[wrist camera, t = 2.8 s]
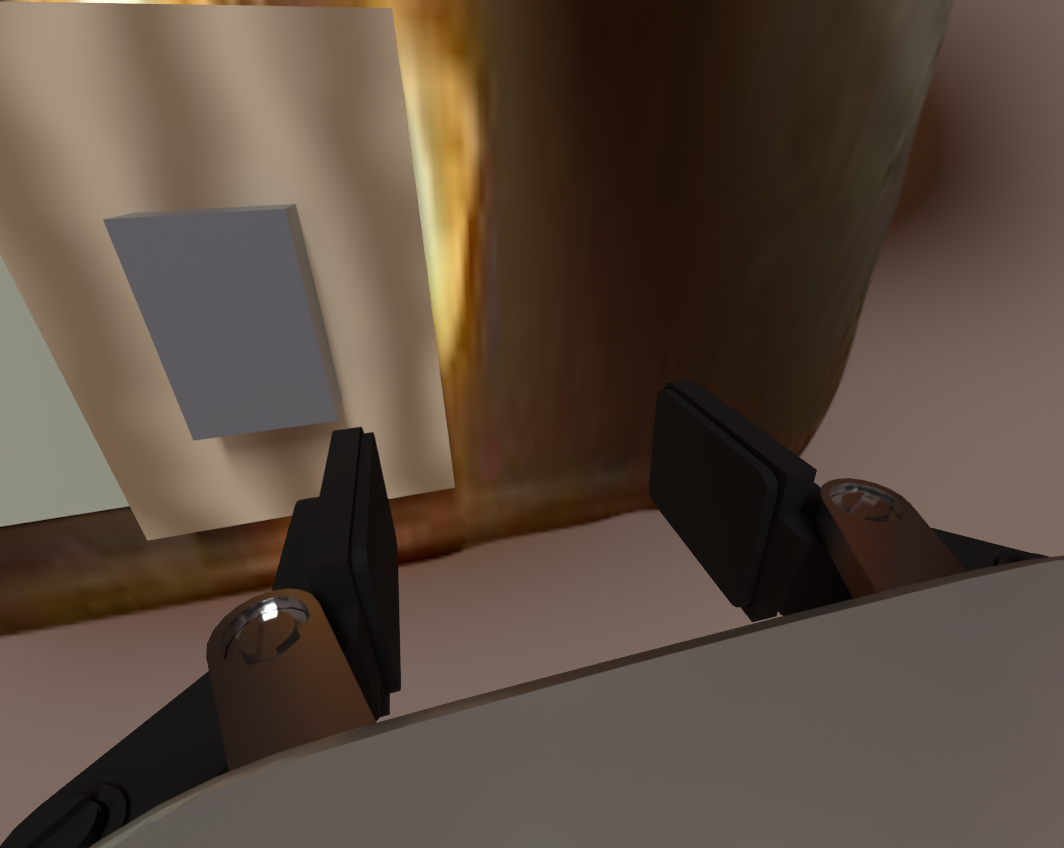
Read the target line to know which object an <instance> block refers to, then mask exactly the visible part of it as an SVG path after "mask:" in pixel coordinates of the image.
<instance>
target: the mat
mask: <svg viewBox="0 0 1064 848" xmlns="http://www.w3.org/2000/svg"><path fill="white" fill-rule="evenodd" d="M127 506H130V505H129V504H128V502H127V500H126V498H125V496H124V494H123V492H122V490H121V488H120V486H119V484H118V482H117V480H116V478H115V476H114V474H113V472H112V471H111V469H110V467H109V465H108V463H107V461H106V459H105V457H104V455H103V453H102V451H101V449H100V447H99V445H98V443H97V441H96V439H95V438H94V436H93V434H92V432H91V430H90V428H89V426H88V424H87V422H86V420H85V418H84V416H83V414H82V412H81V410H80V408H79V406H78V404H77V403H76V401H75V399H74V397H73V395H72V393H71V391H70V389H69V387H68V385H67V383H66V381H65V379H64V377H63V375H62V373H61V371H60V370H59V368H58V366H57V364H56V362H55V360H54V358H53V356H52V354H51V352H50V350H49V348H48V346H47V344H46V342H45V340H44V338H43V337H42V335H41V333H40V331H39V329H38V327H37V325H36V323H35V321H34V319H33V317H32V315H31V313H30V311H29V309H28V307H27V305H26V304H25V302H24V300H23V298H22V296H21V294H20V292H19V290H18V288H17V286H16V284H15V282H14V280H13V278H12V276H11V274H10V272H9V271H8V269H7V267H6V265H5V263H4V261H3V259H2V257H1V255H0V527H1V526H7V525H14V524H20V523H26V522H33V521H39V520H45V519H52V518H58V517H64V516H70V515H77V514H83V513H89V512H96V511H102V510H108V509H114V508H121V507H127Z"/></svg>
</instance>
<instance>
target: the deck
mask: <svg viewBox="0 0 1064 848" xmlns="http://www.w3.org/2000/svg"><path fill="white" fill-rule="evenodd" d="M281 204H296V209H297V213H298V217H299V221H300V225H301V230H302V234H303V238H304V242H305V247H306V251H307V255H308V259H309V263H310V268H311V272H312V276H313V280H314V284H315V289H316V293H317V297H318V301H319V305H320V310H321V314H322V318H323V322H324V327H325V331H326V335H327V339H328V343H329V348H330V352H331V356H332V360H333V364H334V369H335V373H336V377H337V381H338V385H339V390H340V394H341V398H342V399H341V404H340V409H339V414H338V420H337V421H332V422H324V423H317V424H310V425H303V426H296V427H288V428H281V429H274V430H267V431H260V432H252V433H245V434H238V435H231V436H224V437H216V438H209V439H202V440H195V441H193V439H192V436H191V434H190V431H189V429H188V426H187V424H186V421H185V419H184V417H183V414H182V412H181V409H180V407H179V404H178V402H177V399H176V397H175V395H174V392H173V390H172V387H171V385H170V382H169V380H168V377H167V375H166V373H165V370H164V368H163V365H162V363H161V360H160V358H159V355H158V353H157V351H156V348H155V346H154V343H153V341H152V338H151V336H150V333H149V331H148V329H147V326H146V324H145V321H144V319H143V316H142V314H141V311H140V309H139V307H138V304H137V302H136V299H135V297H134V294H133V292H132V289H131V287H130V285H129V282H128V280H127V277H126V275H125V272H124V270H123V267H122V265H121V263H120V260H119V258H118V255H117V253H116V250H115V248H114V246H113V243H112V241H111V238H110V236H109V233H108V231H107V228H106V226H105V224H104V221H103V219H107V218H112V217H117V216H121V215H126V214H131V213H140V212H157V211H175V210H193V209H210V208H228V207H246V206H264V205H281ZM0 255H1V257H2V259H3V261H4V263H5V265H6V267H7V269H8V271H9V272H10V274H11V276H12V278H13V280H14V282H15V284H16V286H17V288H18V290H19V292H20V294H21V296H22V298H23V300H24V302H25V304H26V305H27V307H28V309H29V311H30V313H31V315H32V317H33V319H34V321H35V323H36V325H37V327H38V329H39V331H40V333H41V335H42V337H43V338H44V340H45V342H46V344H47V346H48V348H49V350H50V352H51V354H52V356H53V358H54V360H55V362H56V364H57V366H58V368H59V370H60V371H61V373H62V375H63V377H64V379H65V381H66V383H67V385H68V387H69V389H70V391H71V393H72V395H73V397H74V399H75V401H76V403H77V404H78V406H79V408H80V410H81V412H82V414H83V416H84V418H85V420H86V422H87V424H88V426H89V428H90V430H91V432H92V434H93V436H94V438H95V439H96V441H97V443H98V445H99V447H100V449H101V451H102V453H103V455H104V457H105V459H106V461H107V463H108V465H109V467H110V469H111V471H112V472H113V474H114V476H115V478H116V480H117V482H118V484H119V486H120V488H121V490H122V492H123V494H124V496H125V498H126V500H127V502H128V504H129V505H130V507H131V509H132V511H133V513H134V515H135V517H136V519H137V521H138V523H139V525H140V527H141V529H142V531H143V533H144V535H145V537H146V538H147V540H153V539H159V538H164V537H170V536H176V535H182V534H188V533H193V532H199V531H205V530H211V529H217V528H223V527H228V526H234V525H240V524H246V523H252V522H257V521H263V520H269V519H275V518H281V517H287V516H292V514H293V510H294V507H295V504H296V502H297V501H298V500H301V499H307V498H313V497H319V495H320V490H321V485H322V480H323V476H324V471H325V466H326V461H327V456H328V451H329V446H330V441H331V436H332V432H333V431H334V430H341V429H348V428H355V427H362V428H363V431H364V433H370V432H373V433H374V435H375V439H376V444H377V449H378V453H379V458H380V463H381V468H382V472H383V477H384V482H385V487H386V491H387V496H388V499H391V498H397V497H403V496H409V495H415V494H420V493H426V492H432V491H438V490H444V489H449V488H455V483H454V476H453V468H452V460H451V453H450V445H449V438H448V430H447V422H446V415H445V407H444V400H443V392H442V384H441V377H440V369H439V362H438V354H437V347H436V339H435V331H434V324H433V316H432V309H431V301H430V293H429V286H428V278H427V271H426V263H425V256H424V248H423V240H422V233H421V225H420V218H419V210H418V202H417V195H416V187H415V180H414V172H413V164H412V157H411V149H410V142H409V134H408V127H407V119H406V111H405V104H404V96H403V89H402V81H401V73H400V66H399V58H398V51H397V43H396V35H395V28H394V20H393V13H392V8H357V7H298V6H238V5H178V4H118V3H58V2H0Z"/></svg>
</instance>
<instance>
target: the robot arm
mask: <svg viewBox="0 0 1064 848" xmlns="http://www.w3.org/2000/svg"><path fill="white" fill-rule="evenodd" d="M816 471H817V470H816V469H815V468H813V467H812V466H811V465H809V464H808V463H806V462H805V461H804V460H802V459H801V458H800V457H798V456H797V455H796V454H794V453H793V452H791V451H790V450H789V449H787V448H786V447H785V446H783V445H782V444H780V443H779V442H778V441H776V440H775V439H774V438H772V437H771V436H769V435H768V434H767V433H765V432H764V431H763V430H761V429H760V428H758V427H757V426H756V425H754V424H753V423H752V422H750V421H749V420H747V419H746V418H745V417H743V416H742V415H741V414H739V413H738V412H736V411H735V410H734V409H732V408H731V407H730V406H728V405H727V404H725V403H724V402H723V401H721V400H720V399H719V398H717V397H716V396H714V395H713V394H712V393H710V392H709V391H708V390H706V389H705V388H703V387H702V386H701V385H699V384H698V383H697V382H695V381H693V380H686V381H679V382H671V383H667V384H666V385H665V387H664V390H660V391H659V393H658V395H657V404H656V415H655V426H654V437H653V448H652V459H651V470H650V481H649V492H650V497H651V499H652V501H653V503H654V504H655V505H656V507H657V508H658V509H659V511H660V512H661V513H662V515H663V516H664V517H665V518H666V520H667V521H668V522H669V524H670V525H671V526H672V527H673V529H674V530H675V531H676V533H677V534H678V535H679V536H680V538H681V539H682V540H683V542H684V543H685V544H686V546H687V547H688V548H689V550H690V551H691V552H692V553H693V555H694V556H695V557H696V559H697V560H698V561H699V563H700V564H701V565H702V566H703V568H704V569H705V570H706V571H707V573H708V574H709V576H710V577H711V578H712V579H713V581H714V582H715V583H716V584H717V586H718V587H719V589H720V590H721V591H722V592H723V594H724V595H725V596H726V598H727V599H728V600H729V601H730V603H731V604H732V605H733V606H735V607H741V608H742V610H743V611H744V612H745V614H746V615H747V616H748V617H749V619H750V620H751V621H752V622H755V621H759V620H763V619H767V618H771V617H775V616H777V612H779V613H780V614H781V615H783V617H778V618H774V619H771V620H767V621H763V622H759V623H755V624H751V625H747V626H743V627H739V628H735V629H731V630H727V631H724V632H719V633H716V634H712V635H708V636H704V637H700V638H696V639H692V640H688V641H684V642H680V643H676V644H673V645H669V646H665V647H661V648H657V649H653V650H649V651H645V652H641V653H637V654H634V655H630V656H626V657H622V658H618V659H614V660H610V661H606V662H603V663H599V664H595V665H591V666H587V667H583V668H580V669H576V670H572V671H568V672H564V673H561V674H557V675H553V676H550V677H545V678H542V679H538V680H534V681H530V682H527V683H522V684H519V685H515V686H511V687H507V688H503V689H500V690H496V691H492V692H488V693H484V694H480V695H477V696H473V697H469V698H465V699H461V700H457V701H454V702H450V703H446V704H443V705H439V706H436V707H432V708H428V709H425V710H421V711H418V712H414V713H411V714H407V715H404V716H400V717H396V718H393V719H389V720H385V721H382V722H378V723H376V721H377V720H378V719H379V718H380V717H383V716H386V715H389V714H390V693H393V692H397V691H400V690H401V669H400V668H401V667H400V629H399V587H398V586H399V585H398V549H397V540H396V534H395V529H394V525H393V520H392V515H391V510H390V506H389V501H388V496H387V491H386V487H385V482H384V477H383V472H382V468H381V463H380V458H379V453H378V449H377V444H376V439H375V435H374V433H373V432H370V433H364V431H363V428H362V427H355V428H348V429H341V430H334V431H333V432H332V436H331V441H330V446H329V451H328V456H327V461H326V466H325V471H324V476H323V480H322V485H321V490H320V495H319V497H313V498H307V499H301V500H298V501H297V502H296V504H295V507H294V510H293V514H292V518H291V521H290V525H289V529H288V533H287V536H286V540H285V544H284V548H283V551H282V555H281V559H280V563H279V566H278V570H277V574H276V577H275V581H274V585H273V589H272V591H270V592H267V593H264V594H261V595H258V596H256V597H253V598H252V599H250V600H248V601H246V602H244V603H242V604H241V605H239V606H238V607H236V608H235V609H234V610H233V611H231V612H230V613H229V614H228V615H226V616H225V617H224V618H223V620H222V621H221V622H220V623H219V624H218V625H217V627H216V628H215V629H214V630H213V632H212V634H211V637H210V639H209V641H208V643H207V655H206V657H207V663H208V668H209V671H208V672H207V673H206V674H205V675H203V676H202V677H201V678H200V679H198V680H197V681H196V682H195V683H193V684H192V685H191V686H189V688H187V689H186V690H184V691H183V692H182V693H181V694H179V695H178V696H177V697H176V698H174V699H173V700H172V701H171V702H169V703H168V704H167V705H166V706H164V707H163V708H162V709H161V710H160V711H158V712H157V713H156V714H154V715H153V716H152V717H151V718H149V719H148V720H147V721H145V722H144V723H143V724H142V725H141V726H139V727H138V728H137V729H136V730H134V731H133V732H132V733H130V734H129V735H128V736H127V737H126V738H124V739H123V740H122V741H120V742H119V743H118V744H117V745H116V746H114V747H113V748H112V749H110V750H109V751H108V752H107V753H105V754H104V755H103V756H102V757H100V758H99V759H98V760H97V761H95V762H94V763H93V764H92V765H90V766H89V767H88V768H86V769H85V770H84V771H83V772H81V773H80V774H79V775H78V776H76V777H75V778H74V779H73V780H71V781H70V782H69V783H68V784H66V785H65V786H64V787H63V788H61V789H60V790H59V791H58V792H57V793H55V794H54V795H53V796H51V797H50V798H49V799H48V800H46V801H45V802H44V803H43V804H41V805H40V806H39V807H38V808H37V809H35V811H33V812H32V813H31V814H30V815H29V816H28V817H27V818H26V819H25V820H23V821H22V822H21V823H20V824H19V825H18V826H17V827H16V828H15V829H14V830H13V831H12V832H11V833H10V835H9V836H8V837H7V838H6V840H5V841H4V842H3V843H2V844H1V846H0V848H1064V556H1056V557H1048V556H1045V555H1040V554H1034V553H1029V552H1025V551H1020V550H1017V549H1013V548H1009V547H1005V546H1001V545H997V544H993V543H989V542H985V541H981V540H977V539H973V538H970V537H966V536H962V535H958V534H954V533H950V532H945V531H942V530H938V529H934V528H930V527H929V525H928V524H927V523H926V522H925V520H924V519H923V518H922V517H921V516H920V514H919V513H918V512H917V511H916V510H915V508H914V507H913V506H912V505H911V504H910V503H909V502H908V501H907V500H906V499H905V498H904V497H903V496H901V495H899V494H898V493H896V492H894V491H893V490H891V489H889V488H887V487H884V486H882V485H879V484H876V483H872V482H869V481H865V480H859V479H851V478H843V479H835V480H831V481H828V482H826V483H825V484H824V485H822V488H820V487H819V486H818V485H817V484H815V483H814V479H815V475H816Z"/></svg>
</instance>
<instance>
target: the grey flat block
mask: <svg viewBox="0 0 1064 848" xmlns="http://www.w3.org/2000/svg"><path fill="white" fill-rule="evenodd" d="M103 221H104V224H105V226H106V228H107V231H108V233H109V236H110V238H111V241H112V243H113V246H114V248H115V250H116V253H117V255H118V258H119V260H120V263H121V265H122V267H123V270H124V272H125V275H126V277H127V280H128V282H129V285H130V287H131V289H132V292H133V294H134V297H135V299H136V302H137V304H138V307H139V309H140V311H141V314H142V316H143V319H144V321H145V324H146V326H147V329H148V331H149V333H150V336H151V338H152V341H153V343H154V346H155V348H156V351H157V353H158V355H159V358H160V360H161V363H162V365H163V368H164V370H165V373H166V375H167V377H168V380H169V382H170V385H171V387H172V390H173V392H174V395H175V397H176V399H177V402H178V404H179V407H180V409H181V412H182V414H183V417H184V419H185V421H186V424H187V426H188V429H189V431H190V434H191V436H192V439H193V441H195V440H202V439H209V438H216V437H224V436H231V435H238V434H245V433H252V432H260V431H267V430H274V429H281V428H288V427H296V426H303V425H310V424H317V423H324V422H332V421H337V420H338V414H339V409H340V404H341V399H342V398H341V394H340V390H339V385H338V381H337V377H336V373H335V369H334V364H333V360H332V356H331V352H330V348H329V343H328V339H327V335H326V331H325V327H324V322H323V318H322V314H321V310H320V305H319V301H318V297H317V293H316V289H315V284H314V280H313V276H312V272H311V268H310V263H309V259H308V255H307V251H306V247H305V242H304V238H303V234H302V230H301V225H300V221H299V217H298V213H297V209H296V204H281V205H264V206H246V207H228V208H210V209H193V210H175V211H157V212H140V213H131V214H126V215H121V216H117V217H112V218H107V219H103Z"/></svg>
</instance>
